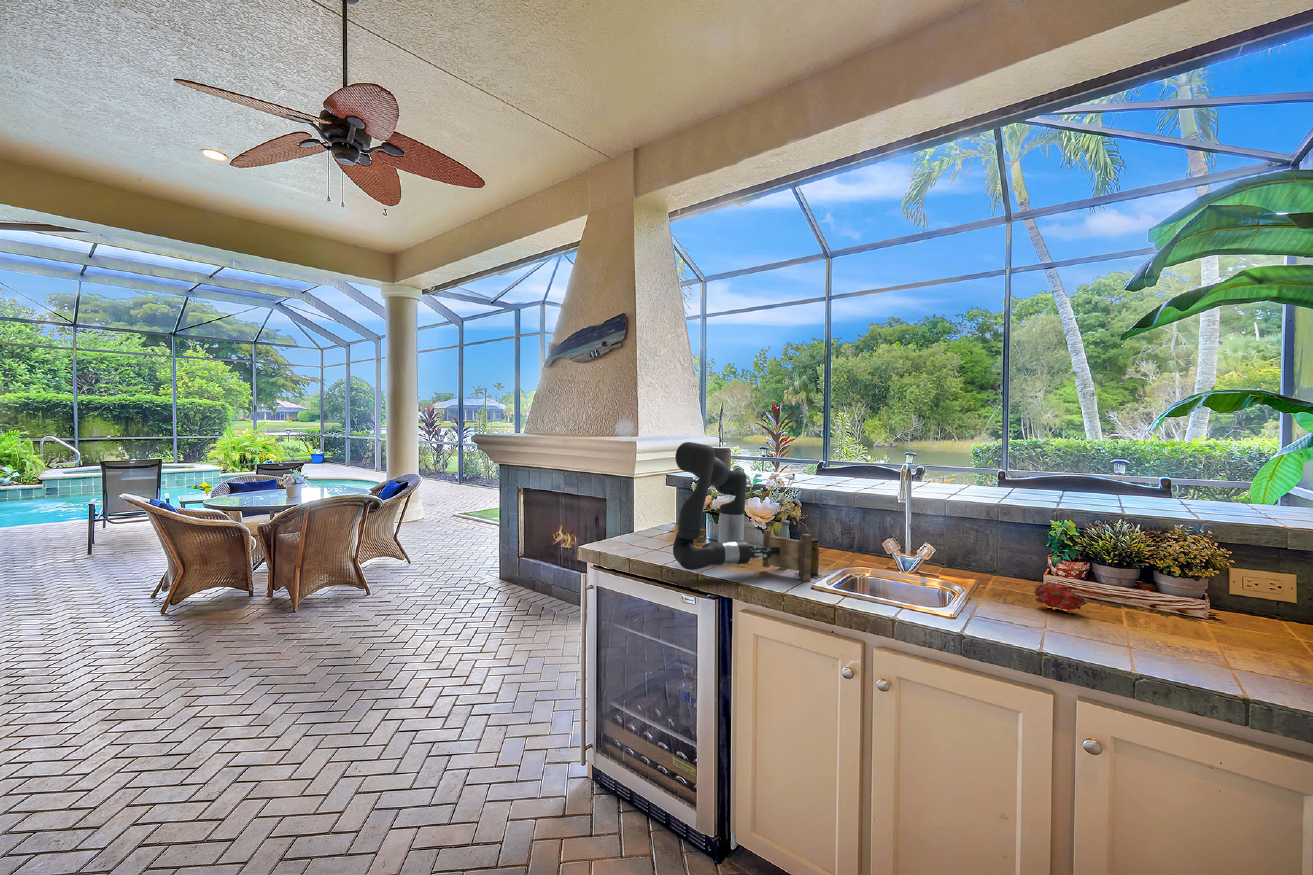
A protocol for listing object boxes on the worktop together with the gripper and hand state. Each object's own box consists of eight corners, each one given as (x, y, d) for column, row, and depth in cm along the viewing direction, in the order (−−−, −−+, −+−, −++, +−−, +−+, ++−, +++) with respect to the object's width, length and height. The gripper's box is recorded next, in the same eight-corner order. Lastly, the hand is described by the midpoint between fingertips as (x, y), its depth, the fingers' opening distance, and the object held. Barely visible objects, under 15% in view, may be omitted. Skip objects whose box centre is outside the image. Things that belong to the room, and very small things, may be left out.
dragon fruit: (1029, 609, 153) (1081, 625, 146) (1032, 598, 147) (1086, 615, 140) (1034, 583, 157) (1086, 598, 149) (1037, 572, 151) (1091, 586, 143)
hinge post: (799, 579, 172) (801, 533, 171) (805, 579, 172) (807, 533, 172) (804, 581, 169) (805, 535, 169) (810, 581, 170) (811, 535, 170)
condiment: (806, 570, 185) (807, 536, 185) (827, 575, 178) (829, 540, 178) (794, 573, 180) (795, 538, 180) (815, 578, 173) (816, 542, 173)
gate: (762, 567, 181) (763, 530, 181) (764, 567, 182) (766, 529, 182) (801, 576, 172) (803, 536, 172) (804, 575, 173) (805, 536, 173)
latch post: (777, 567, 187) (778, 520, 186) (784, 566, 188) (786, 520, 188) (782, 569, 184) (784, 521, 183) (790, 569, 185) (791, 521, 185)
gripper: (743, 545, 165) (790, 543, 171) (723, 537, 178) (768, 535, 184) (742, 569, 165) (789, 566, 171) (723, 559, 178) (767, 557, 184)
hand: (778, 550), depth 177 cm, fingers closed
